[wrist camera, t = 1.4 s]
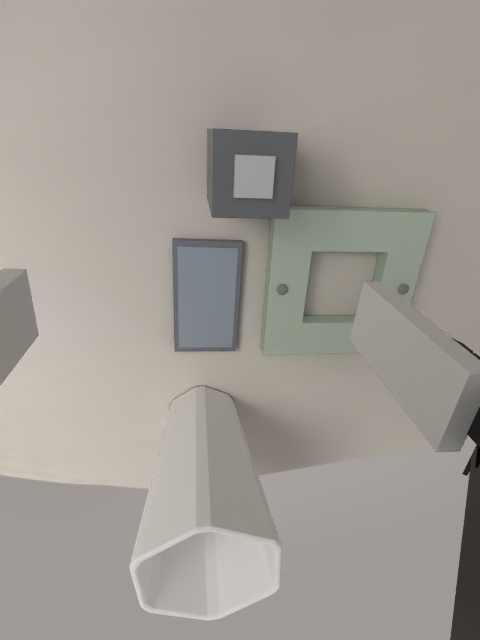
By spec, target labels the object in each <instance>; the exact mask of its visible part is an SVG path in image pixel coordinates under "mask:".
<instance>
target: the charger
mask: <svg viewBox="0 0 480 640" xmlns="http://www.w3.org/2000/svg"><path fill="white" fill-rule="evenodd" d="M297 138H298V133H290V132H271V131H251V130H232V129H207V199H208V203H209V207H210V211H211V215H212V217H215V218H261V219H289V215H290V205H291V196H292V186H293V176H294V167H295V157H296V147H297Z"/></svg>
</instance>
